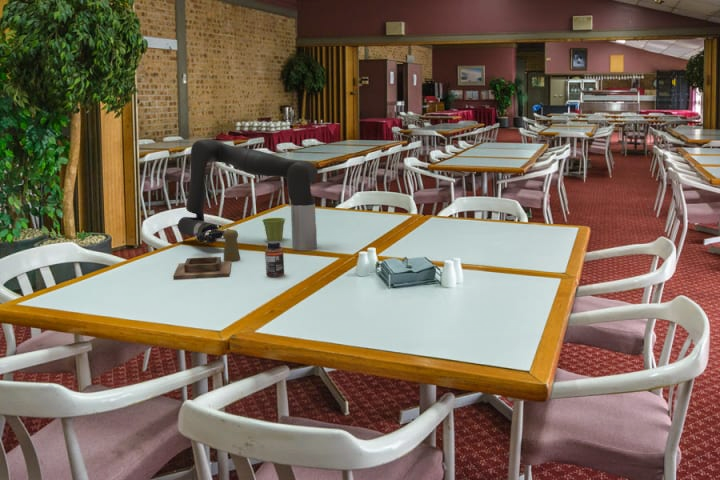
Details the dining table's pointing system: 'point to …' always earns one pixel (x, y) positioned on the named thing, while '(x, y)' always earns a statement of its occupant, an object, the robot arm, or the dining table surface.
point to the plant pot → (274, 228)
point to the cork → (231, 246)
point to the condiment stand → (203, 268)
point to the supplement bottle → (274, 259)
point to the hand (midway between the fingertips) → (222, 238)
